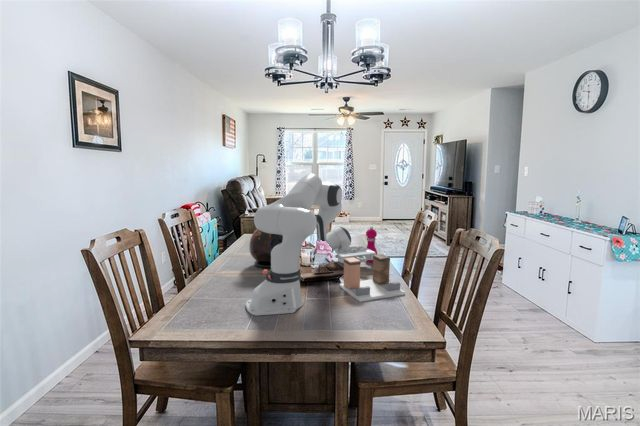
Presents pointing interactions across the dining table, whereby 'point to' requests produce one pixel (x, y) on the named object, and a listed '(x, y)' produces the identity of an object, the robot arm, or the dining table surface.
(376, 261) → the walnut plug
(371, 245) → the pepper mill
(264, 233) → the amphora vase
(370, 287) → the plate
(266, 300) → the robot arm
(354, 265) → the terracotta plug
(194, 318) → the dining table surface
